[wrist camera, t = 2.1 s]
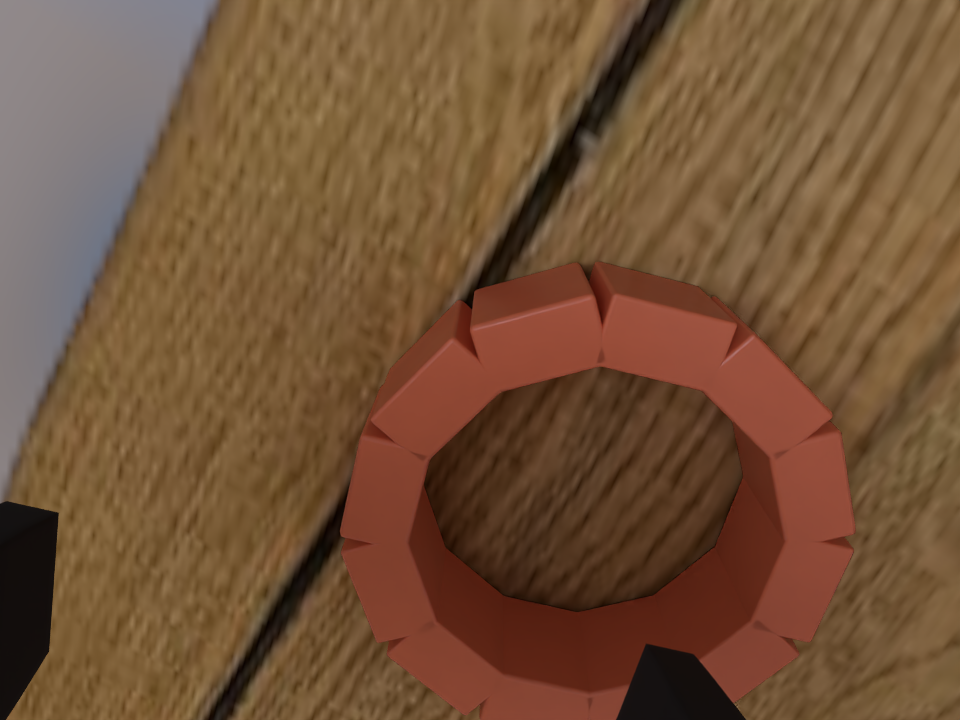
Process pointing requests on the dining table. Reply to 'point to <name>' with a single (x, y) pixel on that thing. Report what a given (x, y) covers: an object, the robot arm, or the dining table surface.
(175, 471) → the dining table surface
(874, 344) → the dining table surface
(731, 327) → the segmented red ring
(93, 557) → the dining table surface
